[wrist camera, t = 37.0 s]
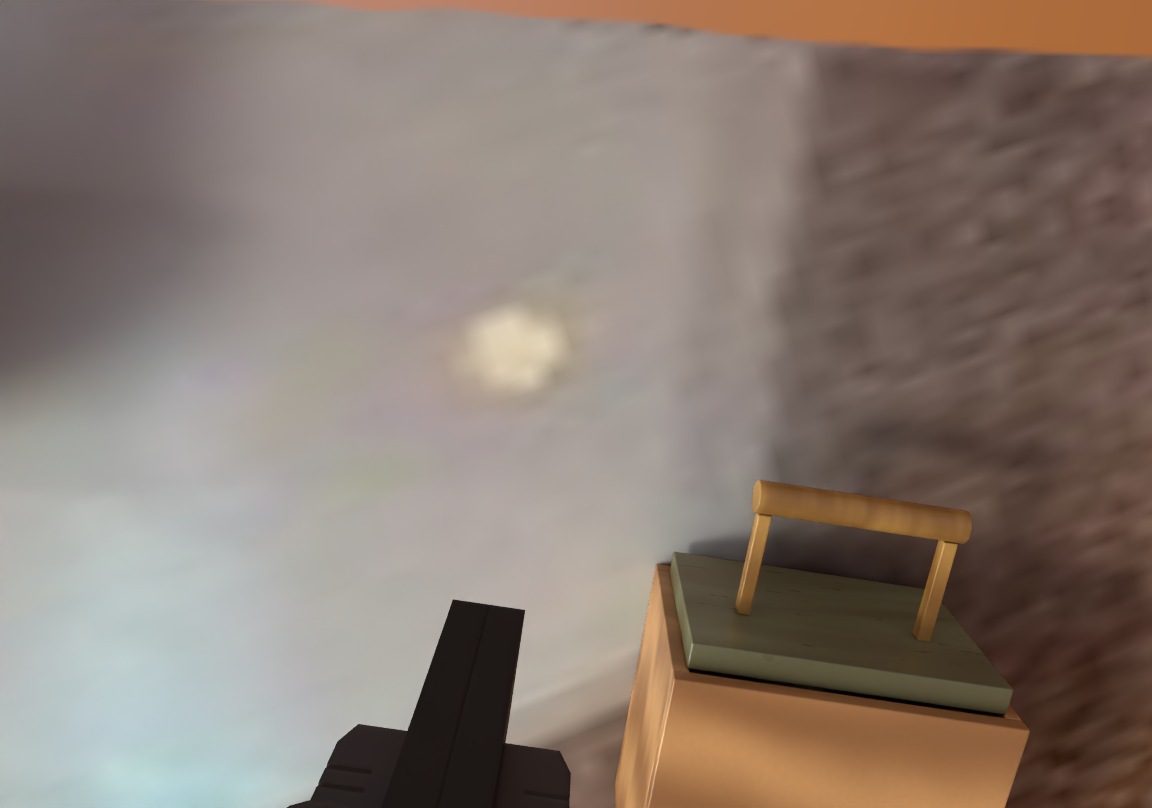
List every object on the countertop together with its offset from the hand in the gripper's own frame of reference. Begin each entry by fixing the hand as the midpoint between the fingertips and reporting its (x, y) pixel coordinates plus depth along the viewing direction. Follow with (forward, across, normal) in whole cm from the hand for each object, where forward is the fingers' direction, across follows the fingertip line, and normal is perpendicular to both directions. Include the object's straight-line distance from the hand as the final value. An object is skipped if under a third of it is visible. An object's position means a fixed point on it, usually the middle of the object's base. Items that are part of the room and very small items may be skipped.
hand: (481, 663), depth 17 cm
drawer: (+24, +14, -10) cm, 29 cm away
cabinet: (+24, +14, -15) cm, 32 cm away
